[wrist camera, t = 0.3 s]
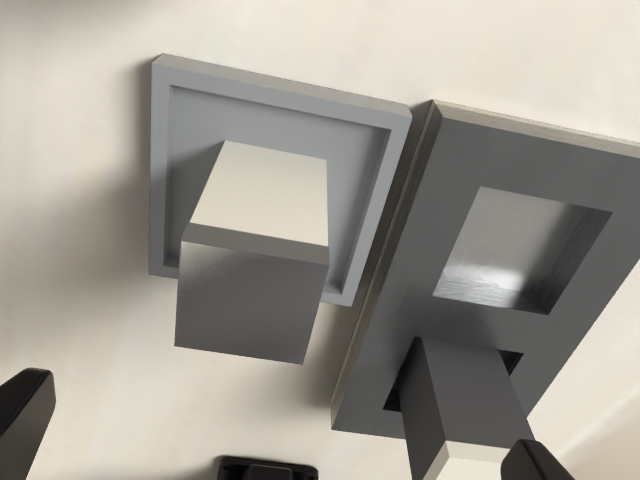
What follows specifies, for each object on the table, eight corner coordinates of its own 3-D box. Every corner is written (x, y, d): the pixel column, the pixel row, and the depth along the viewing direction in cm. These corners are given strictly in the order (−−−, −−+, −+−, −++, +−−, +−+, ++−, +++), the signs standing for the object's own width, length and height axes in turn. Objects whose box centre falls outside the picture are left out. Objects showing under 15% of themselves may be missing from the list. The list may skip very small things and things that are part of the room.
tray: (350, 287, 23) (351, 306, 22) (157, 255, 22) (148, 274, 21) (407, 104, 18) (412, 117, 17) (162, 53, 17) (151, 63, 16)
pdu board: (491, 421, 29) (502, 452, 28) (330, 399, 28) (331, 429, 26) (669, 149, 19) (701, 171, 18) (433, 99, 18) (444, 117, 17)
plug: (307, 242, 21) (302, 364, 15) (215, 226, 21) (174, 346, 15) (327, 159, 19) (329, 265, 13) (224, 139, 19) (180, 240, 13)
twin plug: (465, 390, 27) (506, 521, 21) (395, 380, 26) (415, 511, 21) (495, 338, 25) (549, 469, 19) (418, 326, 24) (449, 457, 18)
